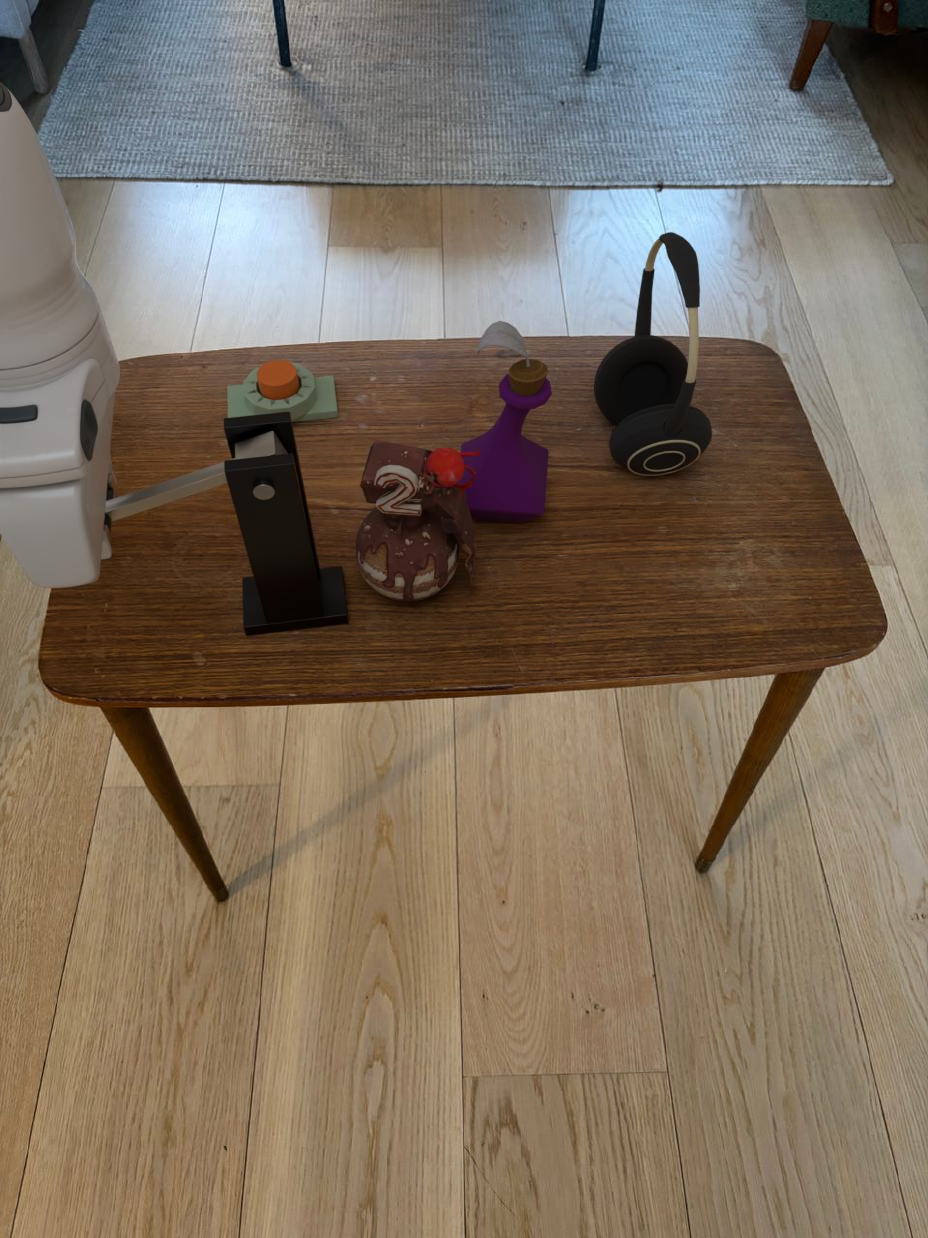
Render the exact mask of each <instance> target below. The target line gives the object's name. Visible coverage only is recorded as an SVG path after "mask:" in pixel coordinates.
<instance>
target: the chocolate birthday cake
mask: <svg viewBox="0 0 928 1238" xmlns="http://www.w3.org/2000/svg"><path fill="white" fill-rule="evenodd" d="M480 453H481V450H480V451H475V452H464V453H463V452H461V451H457V450H456V449H455V448H452V447H439V448H436V449H435V450H430V449H426V448H422V447H417V446H411V445H407V444H400V443H395V442H391V441H390V442H389V441H385V440H379V439H375V440H374V441H373V443H372V444H371V445H370V448H369V451H368V455H367V458H366V462H365V466H364V469H363V472H362V476H361V480H360V483H359V487H360V488H361V490H362V492H363V493H362V494H363V495H364V498H365V501H366V503H367V504H375V506H374V507H373V508H372V509H371V510H370V512H368V514H367V515H366V516H365V517H364V519H363V520H362V522H361V524H360V526H359V528H358V530H357V534H356V538H355V557H356V561H357V565H358V568H359V569H358V570H359V572H360V574H361V576H362V577H363V579H364V581H366V583H367V585H368V586H369V587H371V588H372V590H374V591H375V592H376V593H378V594H379V595H380V596H383V597H385V598H387V599H389V600H394V601H398V602H411V603H412V602H418V601H423V600H426V599H428V598H430V597H433V596H435V595H436V594H438V593H439V592H440V591H442V590H443V589H444V588H445V587H446V586H447V585H448V584H449V582H450V581H451V580H452V579H453V577H454V574H455V572H456V570H457V567H458V564H459V561H460V549H461V550H463V551H465V552H466V557H465V563H464V565H465V568H466V569H467V571H468V573H469V576H470V582H469V583H470V584H469V586H471V585H472V579H473V572H474V568H475V567H474V566H475V561H476V554H477V546H478V545H477V544H475V536H476V528H475V526H474V522H473V518H472V517H471V514H470V510H469V506H468V502H467V498H466V495H465V491H464V490H465V489H467V488H470V487H471V485H472V483H473V481H474V480H475V474H476V473H475V471H474V470H473V469H472V468H471V467H469V466H467V465H465V464H464V462H463V459H462V457H461V456H463V457H464V456H476V455H479V454H480ZM464 468H465V469H467V470H468V471H470V473H471V474H472V476H473V477H472V479H471V480H470V481H469V482H467V483H463V484H456V482H458V481H459V480H460V479H461V478H462V477H463V476H464ZM468 591H469V592H470V589H468Z"/></svg>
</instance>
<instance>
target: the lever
mask: <svg viewBox="0 0 928 1238" xmlns="http://www.w3.org/2000/svg"><path fill="white" fill-rule="evenodd" d="M281 454H288V453H287V451H286V450H285V448H284V447H283V445H282V443H281V442H280V440H279V439H278V437H277V436H276V434H275V432H274V431H270V432H267V433H264V434H261V435H259V436H256V437H253V438H250V439H247V440H244V441H241V442H238V443H235V458H233V459H232V458H229V460H234V459H243V458H253V457H262V456H271V455H281ZM224 485H228V483H227V479H226V476H225V472H224V461H221V462H218V463H215V464H212V465H209V466H207V467H203V468H201V469H198V470H194V471H191V472H188V473H186V474H182V475H180V476H177V477H174V478H171V479H168V480H165V481H162V482H161V481H160V482H158V483H156V484H153V485H150V486H147V487H143V488H140V489H138V490H135V491H132V492H129V493H126V494H122V495H120V496H117V497H115V498H114V493H113V491H112V490H111V489H110V488H108V487H107V494H106V506H105V518H104V525H107V526H108V528H109V531H110V535H111V536H112V524H113V522H115V521H119V520H121V519H125V518H127V517H131V516H133V515H136V514H139V513H142V512H146V511H149V510H151V509H155V508H157V507H161V506H163V505H166V504H170V503H173V502H176V501H178V500H182V499H185V498H187V497H191V496H194V495H196V494H200V493H202V492H206V491H208V490H211V489H215V488H218V487H221V486H224Z"/></svg>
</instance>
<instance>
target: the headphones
mask: <svg viewBox="0 0 928 1238" xmlns="http://www.w3.org/2000/svg"><path fill="white" fill-rule="evenodd" d="M663 245H664V247H665V251H666V256H667V258H668V260H669V262H670V264H671V265H672V268H673V270H674V272H675V275H676V277H677V281H678V284H679V286H680V291H681V294H682V297H683V300H684V306H685V308H687V315H688V335H689V336H688V337H689V339H688V360H687V358H686V355H684V353H683V352H682V351H681V350H680V348H679V347H678V346H677V345H675V344H674V342H672V341H670V340H668V339H666V338H664V337H661V336H657V335H652V309H653V290H654V289H653V288H654V280H655V263H656V259H657V255H658V253H659V251H660V250H661V247H662V246H663ZM699 268H700V267H699V259H698V254H697V252H696V250H695V249H694V247H693V246H692V244H691V243H690V242H689V241H688V240H687V239H686V238H684V236H682V235H680V234H679V233H675V232H674V231H673V232H671V231H670V232H665V233H662V234H660V235H659V237H658V238H657V239H656V240H655V241H654V243H653V244H652V246H651V248H650V250H649V252H648V255H647V258H646V262H645V266H644V268H643V269H642V275H641V281H640V287H639V294H638V302H637V308H636V317H635V327H634V336H632V337H630V338H627V339H625V340H623V341H621V342H619V343H618V344H616V345H615V346H614V347H613V348H612V349H610V350H609V351H608V352H607V353H606V355H605V356H604V357H603V358H602V359H601V361H600V363H599V365H598V366H597V370H596V373H595V376H594V382H593V394H594V398H595V402H596V405H597V407H598V409H599V410H600V413H601V414H602V415H603V417H604V418H605V419H606V420H607V421H608V422H610V423H611V424H612V425H614V426H615V427H614V428H613V429H612V431H611V433H610V438H609V441H608V447H609V452H610V456H611V458H612V460H613V461H614V462H615V463H616V464H617V465H618V466H620V467H621V468H623V469H625V470H626V471H628V472H631V473H632V474H635V475H637V476H638V475H639V476H645V477H646V476H647V477H654V476H655V477H657V476H664V475H669V474H671V473H675V472H679V471H681V470H683V469H686V468H687V467H690V466H692V464H694V463H695V462H696V461H697V460H698V459H699V458H700V457H701V456H702V455H703V454H704V452H705V451H706V450H707V448H708V447H709V445H710V444H711V441H712V438H713V429H712V424H711V421H710V418H709V417H708V416H707V414H706V413H705V412H704V411H702V410H701V409H699V408H697V407H695V406H691V403H692V400H693V396H694V393H695V388H696V384H697V379H696V378H697V372H698V371H697V369H698V361H699V342H700V331H699V308H700V306H701V305H700V303H701V302H700V301H701V285H700V284H701V283H700V269H699Z"/></svg>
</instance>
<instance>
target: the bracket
mask: <svg viewBox="0 0 928 1238" xmlns="http://www.w3.org/2000/svg"><path fill="white" fill-rule="evenodd" d="M223 431H224V434H225V438H226V442H227V446H228V449H229V454H230V456H231V457H230V458H231V459H233V458H235V443H238V442H241V441H244V440H247V439H250V438H253V437H256V436H259V435H261V434H264V433H267V432H270V431H274V432H275V434H276V436H277V437H278V439H279V440H280V442H281V443H282V445H283V447H284V448H285V450H286V451H287V453H288V454H281V455H271V456H262V457H253V458H243V459H234V460H230V459H227V460H224V461H223V462H224V472H225V476H226V479H227V486H228V489H229V493H230V497H231V500H232V504H233V508H234V512H235V514H236V518H237V519H236V520H237V522H238V525H239V529H240V533H241V536H242V540H243V544H244V548H245V550H246V551H245V552H246V554H247V559H248V562H249V565H250V569H251V572H252V576H244V577H242V578H241V584H242V585H241V586H242V621H243V623H242V624H243V625H242V626H243V627H242V628H243V630H244V633H245V636H246V637H250V636H257V635H259V636H260V635H266V634H274V633H282V632H290V631H299V630H306V629H314V628H315V629H316V628H322V627H324V628H325V627H331V626H338V625H339V626H340V625H347V624H349V613H348V605H347V603H348V602H347V592H346V584H345V574H344V568H343V565H338V566H329V567H320V562H319V557H318V552H317V547H316V541H315V537H314V530H313V525H312V520H311V515H310V509H309V504H308V499H307V494H306V493H307V492H306V489H305V483H304V478H303V473H302V467H301V462H300V457H299V451H298V446H297V440H296V436H295V435H296V434H295V431H294V425H293V422H292V419H291V414H290V412H289V411H288V412H279V413H269V414H259V415H250V416H240V417H231V418H228V417H224V418H223Z"/></svg>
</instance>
